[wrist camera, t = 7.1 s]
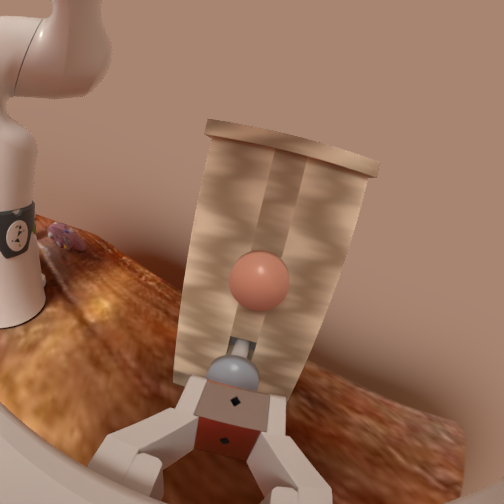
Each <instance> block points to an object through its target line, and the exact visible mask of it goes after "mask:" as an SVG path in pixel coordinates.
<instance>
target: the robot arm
mask: <svg viewBox="0 0 504 504" xmlns="http://www.w3.org/2000/svg"><path fill="white" fill-rule="evenodd" d="M51 2H52V13H51V16H49V17H48V18H43V19H42V18H32V17H19V16H0V328H6V327H11V326H15V325H18V324H21V323H23V322H26V321H27V320H29V319H31V318H32V317H34V316H35V315H36V314H37V313H38V312H39V311H40V310H41V309H42V308H43V306H44V304H45V300H46V296H45V292H44V286H45V284H46V278H45V275H44V274H41V267H40V260H39V252H38V244H37V237H36V235H35V234H34V233H33V232H32V231H33V229H34V219H35V209H34V208H35V203H34V202H33V200H32V196H33V184H34V183H33V182H34V174H35V165H36V158H37V144H36V141H35V138H34V136H33V135H32V134H31V132H30V131H28V130H27V129H26V128H25V127H24V126H22V125H21V124H19V123H18V122H17V121H15V120H14V119H12V118H11V117H10V116H9V115H8V114H7V112H6V102H7V100H8V99H9V98H10V97H13V96H17V97H19V96H20V97H35V98H49V99H61V98H73V97H83V96H85V95H87V94H88V93H89V92H91V91H92V90H93V89H94V88H95V87H97V85H98V84H99V83H100V82H101V81H102V79H103V78H104V77H105V75H106V73H107V71H108V69H109V66H110V63H111V58H112V46H111V41H110V39H109V37H108V35H107V33H106V31H105V29H104V27H103V23H102V18H101V3H102V0H51ZM285 432H286V398H285V397H283V396H278V395H272V394H266V393H261V392H257V391H252V390H247V389H243V388H239V387H234V386H231V385H227V384H224V383H220V382H217V381H214V380H210V379H206V378H203V377H200V376H197V375H194V374H192V375H191V376H190V378H189V380H188V382H187V384H186V387H185V389H184V391H183V393H182V395H181V397H180V399H179V401H178V404H177V406H176V408H175V409H174V408H168V409H166V410H164V411H162V412H160V413H158V414H155V415H153V416H151V417H149V418H147V419H144V420H142V421H140V422H137V423H135V424H133V425H130V426H128V427H126V428H123V429H121V430H118V431H116V432H113V433H111V434H108V435H107V436H106V438H105V439H104V441H103V443H102V444H101V446H100V447H99V449H98V450H97V452H96V453H95V455H94V456H93V458H92V459H91V461H90V463H89V464H88V466H87V467H86V466H84V465H82V464H81V463H79V462H77V461H76V460H74V459H72V458H71V457H69V456H68V455H66V454H65V453H63V452H62V451H60V450H59V449H57V448H56V447H54V446H53V445H51V444H50V443H49V442H47V441H46V440H45V439H43V438H42V437H41V436H39V435H38V434H37V433H35V432H34V431H33V430H32V429H30V428H29V427H28V426H27V425H25V424H24V423H23V422H22V421H21V420H19V419H18V418H17V417H16V416H15V415H14V414H13V413H12V412H10V411H9V410H8V409H7V408H6V407H5V406H4V405H3V404H2V403H1V402H0V504H168V503H165V502H162V501H161V500H162V497H163V494H164V484H163V470H164V469H165V468H167V467H168V466H170V465H171V464H173V463H174V462H176V461H177V460H179V459H180V458H182V457H183V456H185V455H186V454H187V453H189V452H190V451H192V450H193V448H196V449H200V450H203V451H207V452H212V453H216V454H220V455H224V456H228V457H232V458H236V459H241V460H245V461H247V464H248V466H249V468H250V470H251V472H252V474H253V476H254V478H255V480H256V482H257V484H258V486H259V488H260V490H261V492H262V494H263V496H264V499H263V500H262V501H261V502H260V504H333V502H332V488H331V487H330V486H329V485H328V484H327V483H326V481H325V480H324V479H323V478H322V477H321V475H320V474H319V473H318V472H317V470H316V469H315V468H314V467H313V465H312V464H311V463H310V462H309V460H308V459H307V458H306V457H305V455H304V454H303V453H302V451H301V450H300V449H299V448H298V446H297V445H296V444H295V442H294V441H293V440H292V438H291V437H290V436H285ZM444 504H504V477H502V478H500V479H499V480H497V481H495V482H493V483H491V484H489V485H487V486H485V487H483V488H481V489H479V490H476V491H474V492H472V493H470V494H467V495H465V496H462V497H460V498H457V499H455V500H452V501H449V502H447V503H444Z"/></svg>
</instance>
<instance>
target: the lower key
mask: <svg viewBox="0 0 504 504" xmlns="http://www.w3.org/2000/svg"><path fill="white" fill-rule="evenodd" d="M255 343H256V342H252V341H248V340H244V339H240V338H236V337H232V336H231V340H230V344H229V345H233V346H234V347H233V350H232V353H231V355H224V356H220V357H218V358H216V359H215V360H214V361H213V362H212V363H211V365H210V368H209V370H208V373H207V376H206V379H210V380H214V381H217V382H220V383H224V384H227V385H231V386H234V387H239V388H243V389H247V390H252V391H257V390H258V385H259V378H260V375H259V371H258V368H257V367H256V366H255V364H254V363H252V362H251V361H250V360H248V359H247V356H248V351H249V350H252V351H253V350H254V346H255Z"/></svg>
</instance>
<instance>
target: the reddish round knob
mask: <svg viewBox="0 0 504 504" xmlns="http://www.w3.org/2000/svg"><path fill="white" fill-rule="evenodd" d="M229 288H230V291H231V293H232V295H233V297H234V298H235V300H236V301H237V302H238V303H239V304H241V305H242V306H244V307H246V308H248V309H251V310H255V311H264V310H269V309H272V308H274V307H276V306H277V305H279V304H280V303H281V302H282V301H283V300H284V298H285V297H286V295H287V293H288V289H289V273H288V269H287V267H286V265H285V263H284V262H283V260H282V259H281V258H280V257H279V256H277V255H276V254H274V253H272V252H269V251H266V250H254V251H253V250H252V251H250V252H247V253H245V254H244V255H242V256H241V257H240V258H239V259H238V260H237V262H236V263H235V265H234V267H233V268H232V270H231V272H230V276H229Z"/></svg>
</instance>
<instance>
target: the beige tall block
mask: <svg viewBox="0 0 504 504" xmlns="http://www.w3.org/2000/svg"><path fill="white" fill-rule="evenodd" d="M204 134H205V135H207V136H209V137H211V138H212V139H211V143H210V147H209V152H208V156H207V160H206V165H205V169H204V174H203V179H202V183H201V189H200V193H199V198H198V203H197V208H196V213H195V219H194V224H193V229H192V235H191V241H190V247H189V253H188V259H187V265H186V271H185V278H184V285H183V292H182V299H181V307H180V315H179V323H178V331H177V340H176V350H175V360H174V372H173V383H175V384H178V385H181V386H184V387H186V384H187V382H188V380H189V378H190V376H191V375H192V374H194V375H197V376H200V377H203V378H206V376H207V373H208V370H209V368H210V365H211V363H212V362H213V361H214V360H215V359H216V358H218V357H220V356H224V355H231V353H232V350H233V347H234V346H233V345H229V344H230V340H231V336H232V337H236V338H240V339H244V340H248V341H252V342H256V343H255V346H254V350H253V351H252V350H249V351H248V356H247V359H248V360H250V361H251V362H252V363H254V364H255V366H256V367H257V368H258V371H259V375H260V378H259V385H258V390H257V392H261V393H266V394H272V395H278V396H283V397H285V398H286V404H287V402H288V400H289V398H290V395H291V393H292V391H293V389H294V387H295V385H296V383H297V381H298V379H299V376H300V374H301V372H302V370H303V367H304V365H305V363H306V361H307V358H308V356H309V354H310V351H311V349H312V347H313V344H314V342H315V339H316V337H317V335H318V332H319V330H320V327H321V325H322V322H323V320H324V317H325V314H326V312H327V309H328V307H329V304H330V301H331V298H332V296H333V293H334V290H335V287H336V284H337V282H338V279H339V276H340V273H341V270H342V267H343V264H344V261H345V258H346V255H347V252H348V248H349V245H350V242H351V239H352V236H353V232H354V229H355V226H356V222H357V219H358V215H359V211H360V208H361V204H362V200H363V197H364V193H365V189H366V185H367V181H368V178H377V175H378V170H379V166H380V162H378V161H375V160H373V159H370V158H367V157H364V156H361V155H358V154H355V153H352V152H349V151H346V150H343V149H340V148H336V147H333V146H330V145H326V144H323V143H320V142H316V141H312V140H308V139H305V138H301V137H297V136H293V135H289V134H285V133H281V132H277V131H272V130H268V129H263V128H257V127H253V126H247V125H242V124H237V123H231V122H225V121H219V120H212V119H208V121H207V125H206V128H205V132H204ZM252 250H253V251H254V250H266V251H269V252H272V253H274V254H276V255H277V256H279V257H280V258H281V259H282V260H283V262H284V263H285V265H286V267H287V269H288V273H289V289H288V293H287V295H286V297H285V298H284V300H283V301H282V302H281V303H280V304H279V305H277V306H276V307H274V308H272V309H269V310H264V311H255V310H251V309H248V308H246V307H244V306H242V305H241V304H239V303H238V302H237V301H236V300H235V298H234V297H233V295H232V293H231V291H230V288H229V276H230V272H231V270H232V268H233V267H234V265H235V263H236V262H237V260H238V259H239V258H240V257H241V256H242V255H244V254H245V253H247V252H250V251H252Z"/></svg>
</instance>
